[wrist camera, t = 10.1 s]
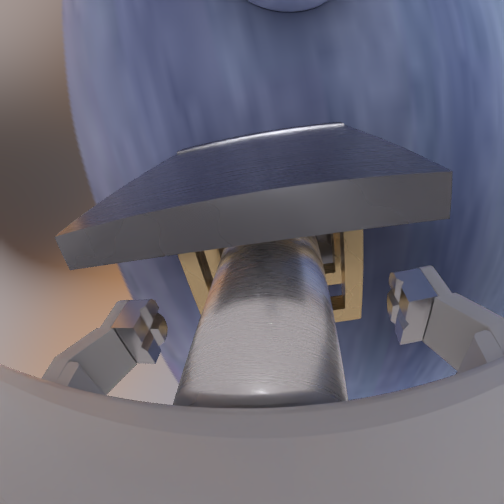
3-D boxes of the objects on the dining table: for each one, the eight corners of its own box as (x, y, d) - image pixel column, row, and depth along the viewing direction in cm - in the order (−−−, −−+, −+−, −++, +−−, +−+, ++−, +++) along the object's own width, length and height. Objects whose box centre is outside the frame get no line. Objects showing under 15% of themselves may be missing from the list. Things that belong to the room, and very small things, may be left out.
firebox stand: (351, 264, 18) (396, 412, 8) (220, 280, 20) (178, 425, 10) (339, 121, 14) (452, 166, 4) (182, 149, 15) (52, 233, 6)
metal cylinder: (322, 198, 15) (389, 401, 5) (291, 256, 17) (295, 460, 7) (253, 169, 14) (191, 354, 4) (228, 231, 16) (161, 430, 6)
